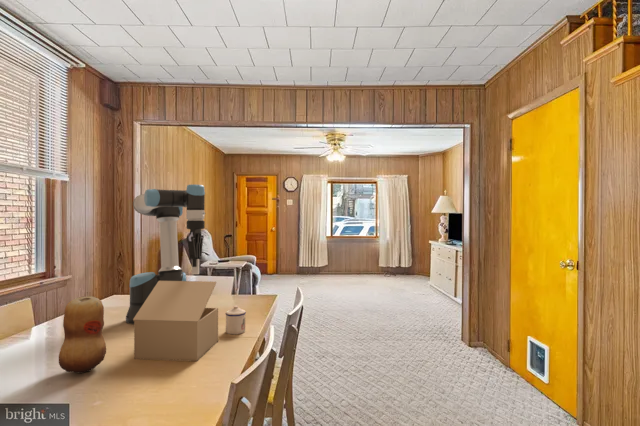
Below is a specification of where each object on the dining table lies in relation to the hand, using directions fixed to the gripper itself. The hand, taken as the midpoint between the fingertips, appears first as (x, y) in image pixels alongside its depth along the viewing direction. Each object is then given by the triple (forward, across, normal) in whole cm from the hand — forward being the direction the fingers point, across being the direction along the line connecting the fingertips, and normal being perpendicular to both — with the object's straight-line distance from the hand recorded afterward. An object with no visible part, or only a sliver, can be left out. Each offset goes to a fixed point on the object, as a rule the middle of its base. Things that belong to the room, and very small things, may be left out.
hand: (195, 274), depth 168 cm
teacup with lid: (+28, +10, -15) cm, 33 cm away
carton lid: (+8, -17, 0) cm, 19 cm away
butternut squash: (+28, -39, +23) cm, 53 cm away
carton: (+28, -16, 0) cm, 32 cm away
